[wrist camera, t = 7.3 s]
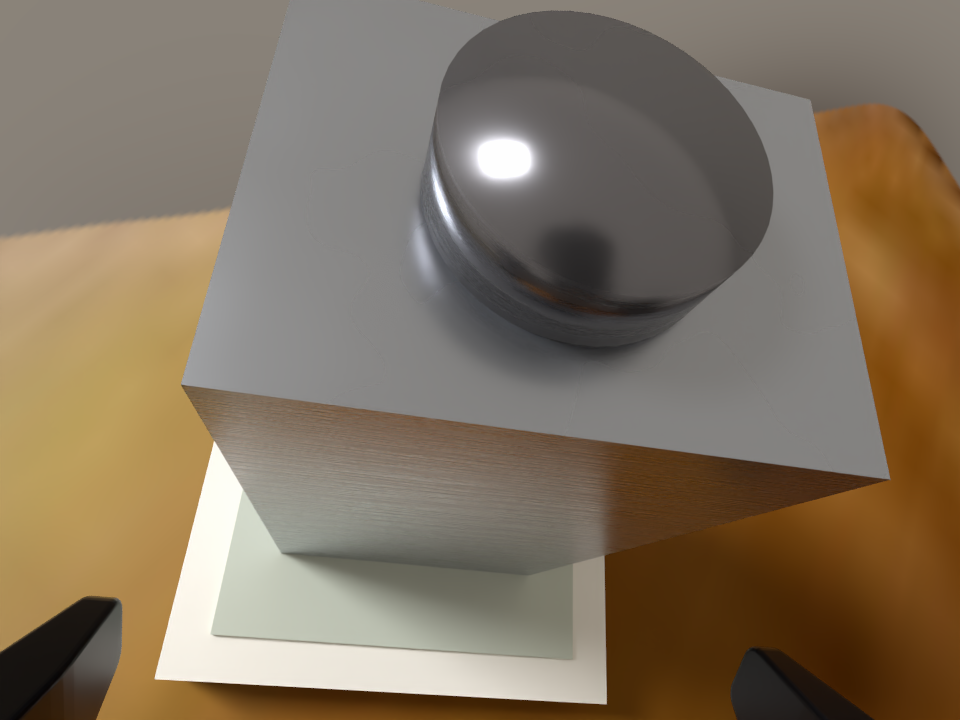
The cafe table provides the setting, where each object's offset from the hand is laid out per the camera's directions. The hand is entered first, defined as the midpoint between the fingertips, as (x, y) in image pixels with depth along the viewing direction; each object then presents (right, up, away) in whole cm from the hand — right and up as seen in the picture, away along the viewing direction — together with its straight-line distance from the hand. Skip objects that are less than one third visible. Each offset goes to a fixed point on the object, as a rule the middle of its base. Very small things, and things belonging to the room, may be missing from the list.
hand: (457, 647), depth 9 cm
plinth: (-2, 0, +10) cm, 11 cm away
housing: (-1, +1, +8) cm, 9 cm away
